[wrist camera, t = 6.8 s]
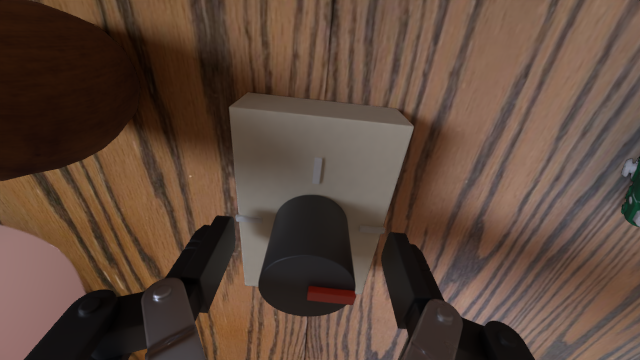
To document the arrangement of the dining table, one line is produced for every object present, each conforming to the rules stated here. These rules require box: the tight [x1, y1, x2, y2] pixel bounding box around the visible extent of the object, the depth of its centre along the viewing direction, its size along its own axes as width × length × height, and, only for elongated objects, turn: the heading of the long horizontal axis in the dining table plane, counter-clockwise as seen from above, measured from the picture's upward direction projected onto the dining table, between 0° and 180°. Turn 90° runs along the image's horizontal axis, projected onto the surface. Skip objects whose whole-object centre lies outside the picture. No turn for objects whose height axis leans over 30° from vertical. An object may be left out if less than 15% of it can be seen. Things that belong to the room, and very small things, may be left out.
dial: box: [258, 195, 356, 316], centre depth 11 cm, size 4×4×4 cm
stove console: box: [229, 92, 414, 294], centre depth 15 cm, size 12×8×3 cm
